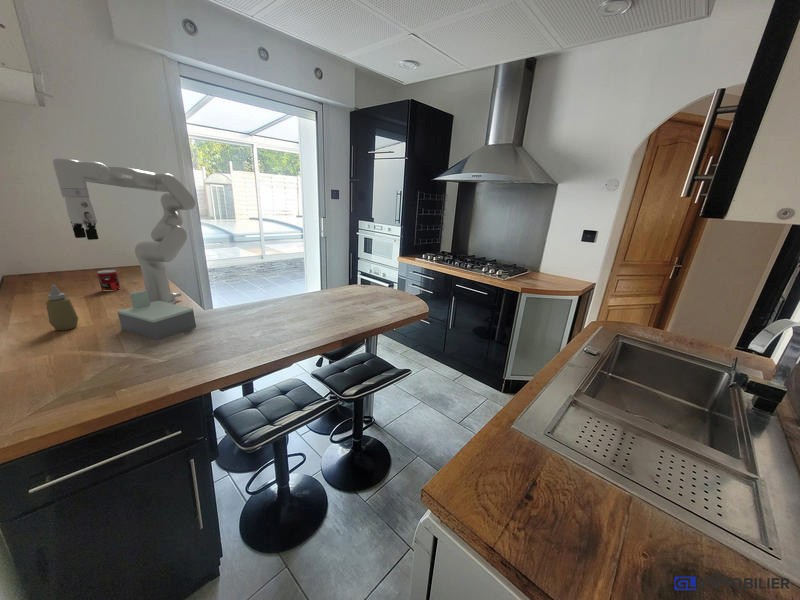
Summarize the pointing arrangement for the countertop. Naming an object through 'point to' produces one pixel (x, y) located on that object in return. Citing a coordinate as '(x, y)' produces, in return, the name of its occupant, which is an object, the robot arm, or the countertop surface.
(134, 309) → the lid
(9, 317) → the countertop surface
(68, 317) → the squeeze bottle
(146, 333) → the tub
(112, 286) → the canned food
